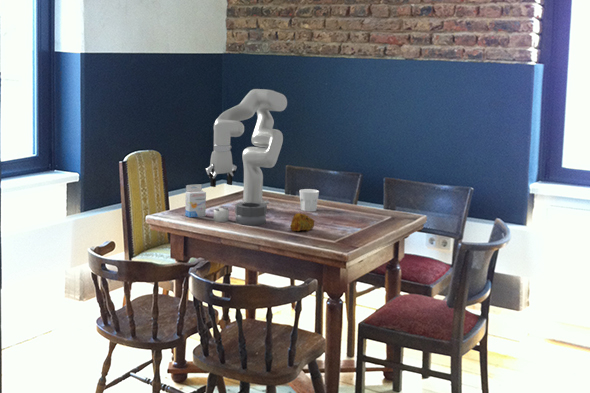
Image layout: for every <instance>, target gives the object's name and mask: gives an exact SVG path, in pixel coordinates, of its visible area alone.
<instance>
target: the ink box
mask: <svg viewBox="0 0 590 393" xmlns="http://www.w3.org/2000/svg"><path fill="white" fill-rule="evenodd" d="M202 186H203V184H202V183H201V184H199V183H198V184H187V185H185V209H184V210H185V213H184V214H185V216H186V217H188V218H199V217H206V213H207V212H206V211H207V210H206V209H207V208H206V205H207V192H206V191H203V190H202Z"/></svg>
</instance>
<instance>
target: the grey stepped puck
mask: <svg viewBox="0 0 590 393" xmlns="http://www.w3.org/2000/svg"><path fill="white" fill-rule="evenodd" d="M267 205H268V204H263V203H258V202H243V201H242V202H237V203H235V205H234V213H235V223H236V224H238V225H242V226H262V225H264V224H266V221H267V209H268V207H267Z"/></svg>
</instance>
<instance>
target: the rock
mask: <svg viewBox="0 0 590 393" xmlns="http://www.w3.org/2000/svg"><path fill="white" fill-rule="evenodd" d="M314 226H315V220H314V219H312V218H311V217H309V216H308V215H307V214H305V213H299V212H298V213H295V214H294V215H293V217H292V220H291V222H290V226H289V227H290V230H291V232H296V231H297V232H300V231H306V232H309V231H311V229H314Z"/></svg>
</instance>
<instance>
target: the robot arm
mask: <svg viewBox="0 0 590 393" xmlns="http://www.w3.org/2000/svg"><path fill="white" fill-rule="evenodd" d="M287 106H288V99H287V97H286V96H285V95H284V94H283V93H281V92H278V91H275V90H273V89H265V88H263V89H262V88H261V89H260V88H253V89H251V90H250V91H249V92H248V93H247V94H246V95H245V96H244V97H243V99H242V100H241V102H240V103H238V104H237V105H235V106H233V107H231V108H229V109H226V110H225V111H223V112H222V113H221V114H219V116H218V117H217V118H216V119H215V121H214V123H213V151H212V152H211V155H210V162H209V163H210V164H209V166H208V167H207V168H205V171H206V174H207V177H209V179H210V181H209V183H210V184H209V186H210V187H211V188H212V187H213V188H216V187H217V179H216V177H217V175H222V174H226V185H228V186H233V177H234V174H236V170H237V165H235V164H233V156H232V155H233V154H232V151H231V149H232V145H231V138H233V137H234V138H237V137H241V136H242V135H243V134H244V132H245V125H244V124H243V122H241V121H245V120H248V119H250V118H252V117H254V115H255V113H256V116H257V119H256V123H255V127H254V129H253V132H252V135H251V144H252V145H254V146H247V147H246V148H244V149H243V151H242V163H243V196H242V197H243V198H242V202H258V203H263V204H266V205H269V204H270V201H269V200H264V199H263V186H264V174H263V171H262V169H261V168H269V169H271V168H273V167H275V165H276V164H277V161H278V158H279V155H280V152H281V149H282V145H283V142H284V136H283V135H284V134H283V133H282V130H281V131H280V130H279V129H275V128H274V124H275V123H274V122H275V121H274V118H273V116H272V114H271V112H283V111H284V110H286V108H287Z"/></svg>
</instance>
